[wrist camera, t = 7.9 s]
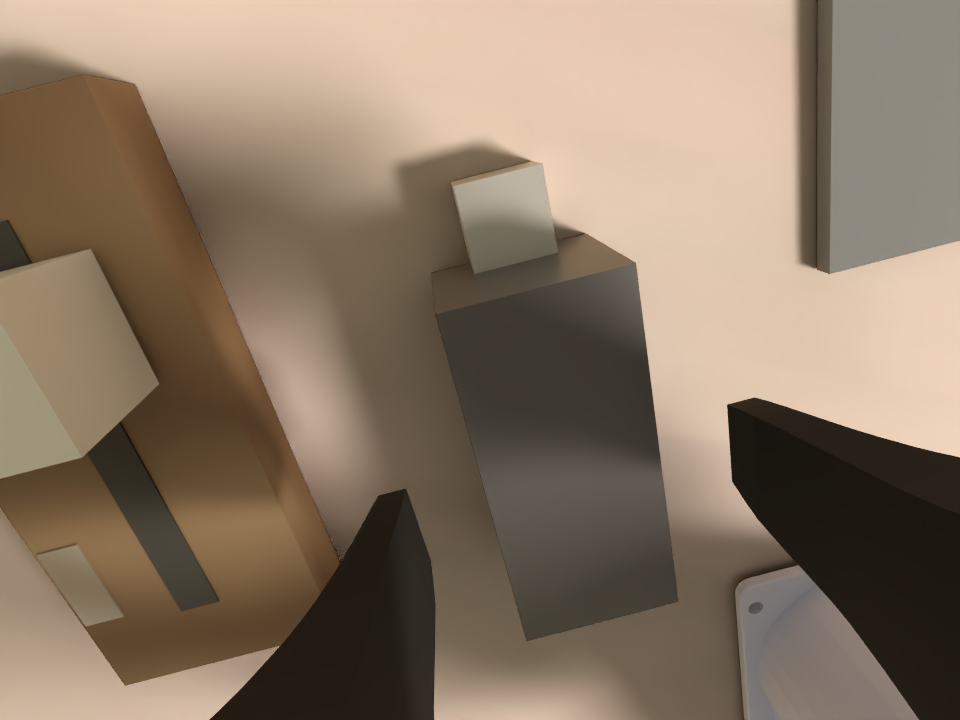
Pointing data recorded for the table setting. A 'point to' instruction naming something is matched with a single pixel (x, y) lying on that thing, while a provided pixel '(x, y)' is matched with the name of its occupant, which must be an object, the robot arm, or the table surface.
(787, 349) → the table surface
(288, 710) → the robot arm
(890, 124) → the mat
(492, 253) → the bar
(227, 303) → the switch block
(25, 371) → the switch tab
